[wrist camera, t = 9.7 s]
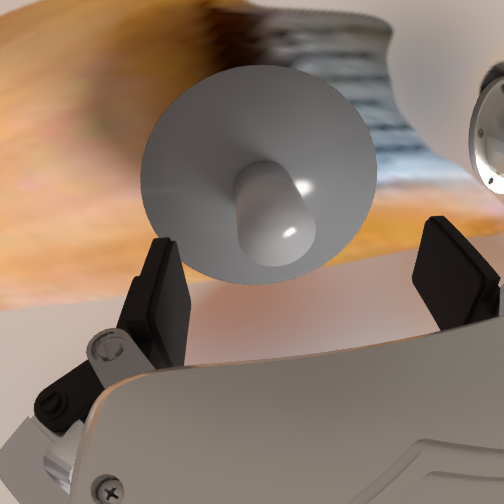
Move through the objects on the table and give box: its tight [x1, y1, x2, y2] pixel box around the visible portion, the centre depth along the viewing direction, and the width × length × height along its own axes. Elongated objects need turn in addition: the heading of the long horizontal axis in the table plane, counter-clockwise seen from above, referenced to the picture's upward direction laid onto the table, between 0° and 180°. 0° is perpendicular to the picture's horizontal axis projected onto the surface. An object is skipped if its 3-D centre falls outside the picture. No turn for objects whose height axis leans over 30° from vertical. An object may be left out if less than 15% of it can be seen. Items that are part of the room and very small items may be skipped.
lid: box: [140, 65, 377, 285], centre depth 15 cm, size 13×13×6 cm
